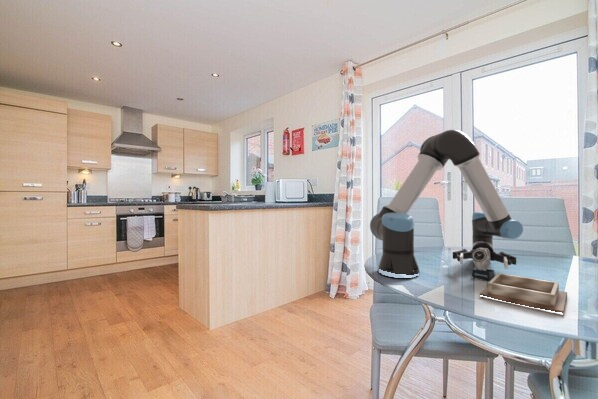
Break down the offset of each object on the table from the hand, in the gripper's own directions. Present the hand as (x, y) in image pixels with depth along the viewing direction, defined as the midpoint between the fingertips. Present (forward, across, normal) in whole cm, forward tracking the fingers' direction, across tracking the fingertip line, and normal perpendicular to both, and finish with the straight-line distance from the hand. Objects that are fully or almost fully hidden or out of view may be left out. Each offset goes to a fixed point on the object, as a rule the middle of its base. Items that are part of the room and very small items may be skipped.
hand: (482, 262), depth 97 cm
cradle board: (+12, -10, -6) cm, 17 cm away
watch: (-3, 0, -7) cm, 8 cm away
